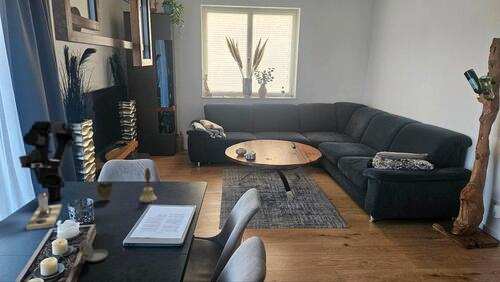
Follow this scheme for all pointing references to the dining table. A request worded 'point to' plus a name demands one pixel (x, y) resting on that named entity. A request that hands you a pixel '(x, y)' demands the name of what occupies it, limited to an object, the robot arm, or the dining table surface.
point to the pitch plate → (44, 218)
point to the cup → (105, 190)
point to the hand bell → (147, 189)
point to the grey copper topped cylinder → (43, 206)
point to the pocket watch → (91, 252)
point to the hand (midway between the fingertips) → (39, 183)
